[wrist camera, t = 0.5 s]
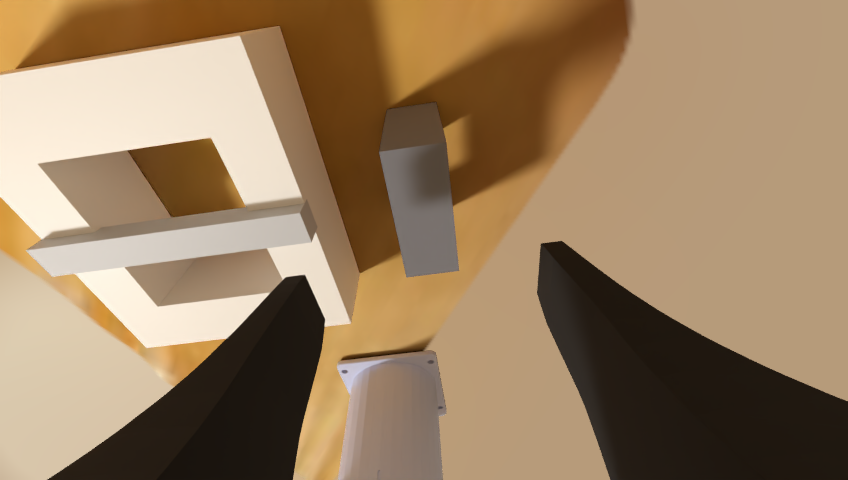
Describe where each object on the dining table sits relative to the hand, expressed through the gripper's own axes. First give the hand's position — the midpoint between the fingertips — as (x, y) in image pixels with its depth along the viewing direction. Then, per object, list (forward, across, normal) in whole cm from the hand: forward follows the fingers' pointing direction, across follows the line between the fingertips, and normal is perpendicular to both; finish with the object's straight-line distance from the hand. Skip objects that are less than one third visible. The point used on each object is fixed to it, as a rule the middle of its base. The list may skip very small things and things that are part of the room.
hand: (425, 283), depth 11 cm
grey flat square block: (+9, 0, 0) cm, 9 cm away
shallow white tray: (+9, +11, 0) cm, 14 cm away
